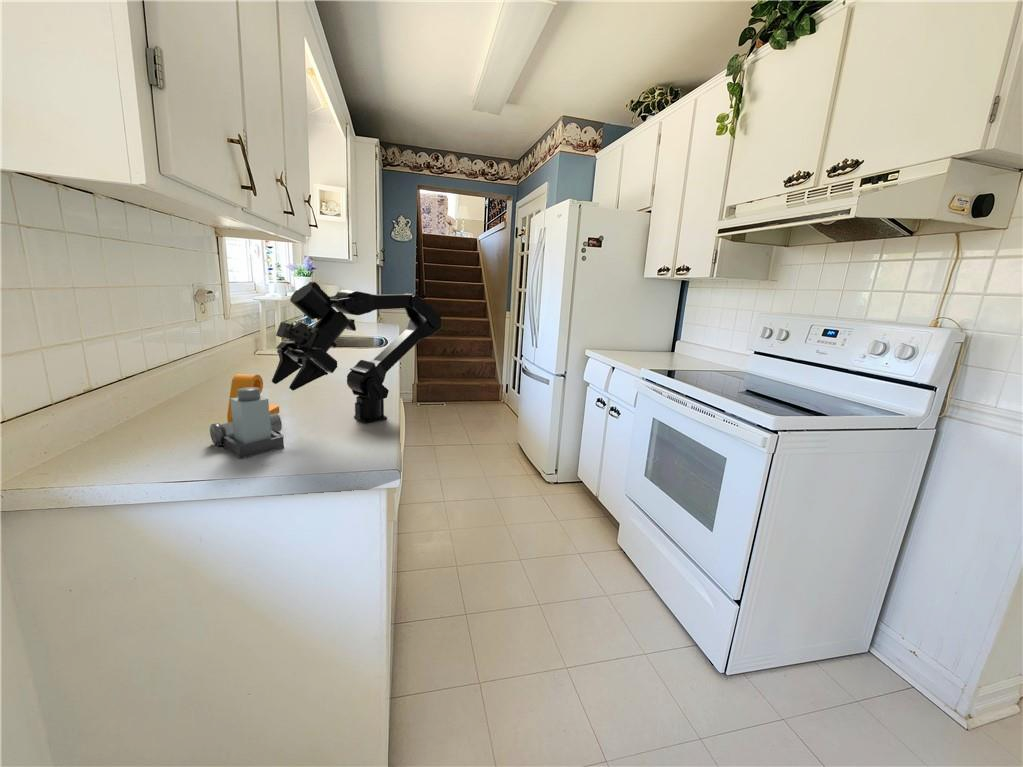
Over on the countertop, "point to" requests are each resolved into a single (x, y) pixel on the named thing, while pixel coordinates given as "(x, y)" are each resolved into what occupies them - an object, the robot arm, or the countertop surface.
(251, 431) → the grey capped bottle
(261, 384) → the bracket
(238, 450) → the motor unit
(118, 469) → the countertop surface
